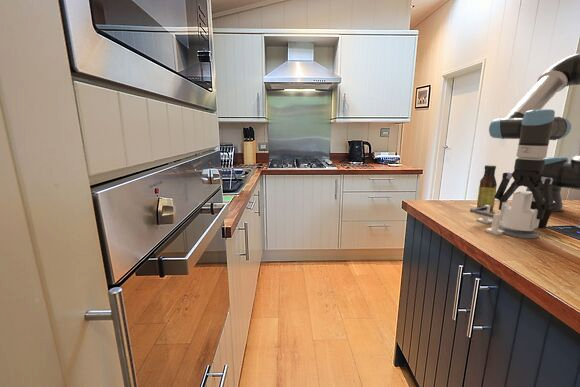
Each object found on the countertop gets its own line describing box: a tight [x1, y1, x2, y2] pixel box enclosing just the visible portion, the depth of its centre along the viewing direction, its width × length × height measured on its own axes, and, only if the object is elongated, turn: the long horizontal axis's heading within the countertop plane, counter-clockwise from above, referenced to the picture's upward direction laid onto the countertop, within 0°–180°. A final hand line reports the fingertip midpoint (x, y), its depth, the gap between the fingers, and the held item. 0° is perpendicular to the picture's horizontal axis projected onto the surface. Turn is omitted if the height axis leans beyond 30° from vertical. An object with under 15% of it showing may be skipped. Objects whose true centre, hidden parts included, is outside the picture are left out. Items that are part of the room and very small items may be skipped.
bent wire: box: [469, 207, 495, 219], centre depth 103 cm, size 10×10×1 cm
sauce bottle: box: [476, 164, 498, 212], centre depth 124 cm, size 6×6×20 cm
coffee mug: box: [530, 197, 555, 230], centre depth 106 cm, size 12×9×10 cm
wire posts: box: [476, 205, 504, 236], centre depth 103 cm, size 18×6×6 cm, turn 159°
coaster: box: [499, 224, 540, 240], centre depth 98 cm, size 12×12×1 cm
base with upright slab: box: [500, 190, 535, 231], centre depth 97 cm, size 9×9×12 cm
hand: (517, 223), depth 98 cm, fingers open, 9 cm apart
